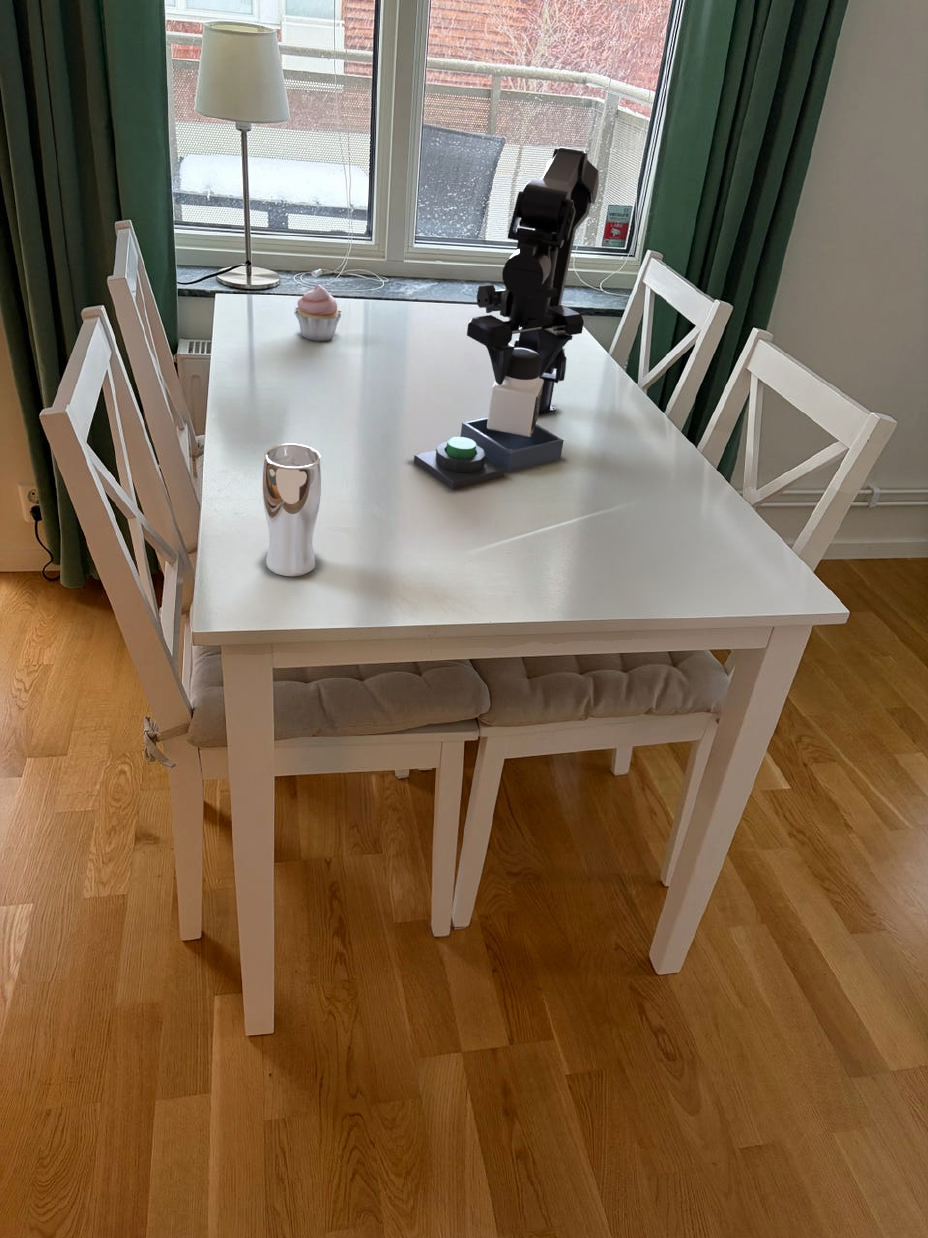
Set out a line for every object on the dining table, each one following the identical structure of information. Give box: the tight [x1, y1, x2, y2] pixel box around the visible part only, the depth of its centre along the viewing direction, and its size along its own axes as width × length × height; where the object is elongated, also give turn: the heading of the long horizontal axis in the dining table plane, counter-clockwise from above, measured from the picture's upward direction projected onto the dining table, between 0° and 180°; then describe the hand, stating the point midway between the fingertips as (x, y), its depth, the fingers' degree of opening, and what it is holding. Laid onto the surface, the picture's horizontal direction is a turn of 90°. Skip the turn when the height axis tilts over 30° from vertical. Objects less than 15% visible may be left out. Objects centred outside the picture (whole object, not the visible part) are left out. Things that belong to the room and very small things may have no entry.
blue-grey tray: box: [460, 416, 565, 474], centre depth 160 cm, size 11×12×3 cm
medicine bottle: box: [487, 348, 544, 437], centre depth 155 cm, size 7×7×12 cm
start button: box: [446, 436, 476, 459], centre depth 151 cm, size 4×4×2 cm
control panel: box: [413, 441, 506, 491], centre depth 152 cm, size 10×10×3 cm
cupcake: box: [293, 283, 342, 342], centre depth 192 cm, size 9×9×10 cm
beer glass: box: [261, 443, 322, 577], centre depth 121 cm, size 7×7×15 cm
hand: (518, 379), depth 154 cm, fingers closed on medicine bottle, 8 cm apart
